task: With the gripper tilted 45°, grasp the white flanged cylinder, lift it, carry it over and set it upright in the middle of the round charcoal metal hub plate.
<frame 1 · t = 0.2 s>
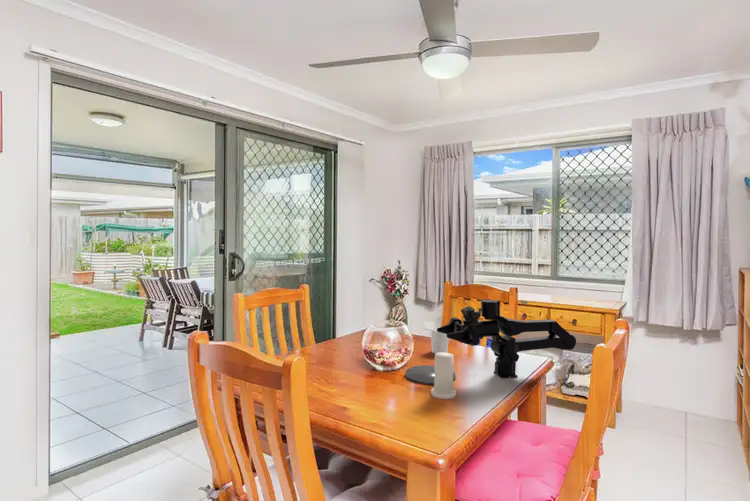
hand: (441, 332, 158), 17 cm above the table, fingers open, 9 cm apart
hub plate: (430, 376, 162), on the table
white flanged cylinder: (443, 394, 144), on the table
white cup: (439, 352, 194), on the table
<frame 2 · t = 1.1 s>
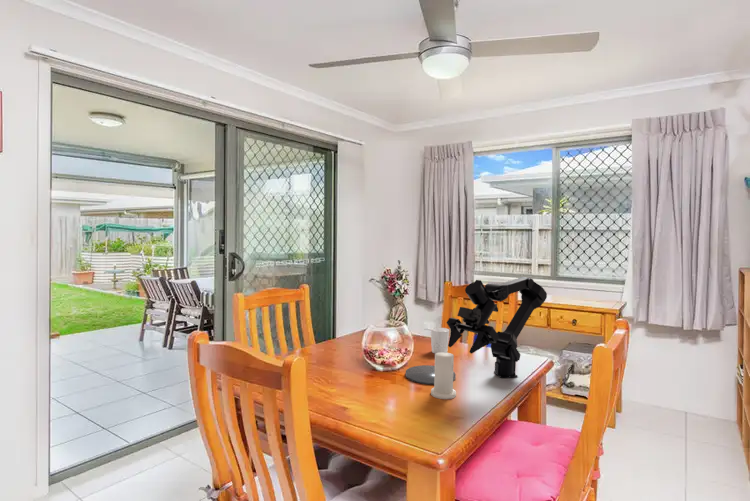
hand: (459, 349, 148), 14 cm above the table, fingers open, 9 cm apart
nothing on the table moved.
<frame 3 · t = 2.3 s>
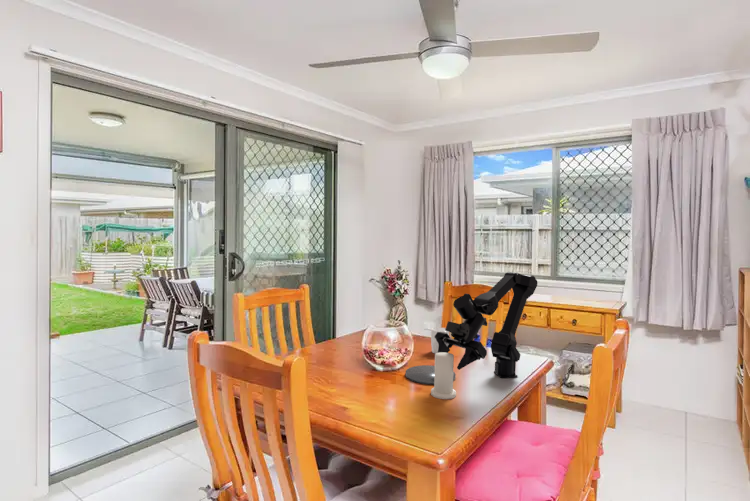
hand: (447, 365, 144), 9 cm above the table, fingers open, 9 cm apart
nothing on the table moved.
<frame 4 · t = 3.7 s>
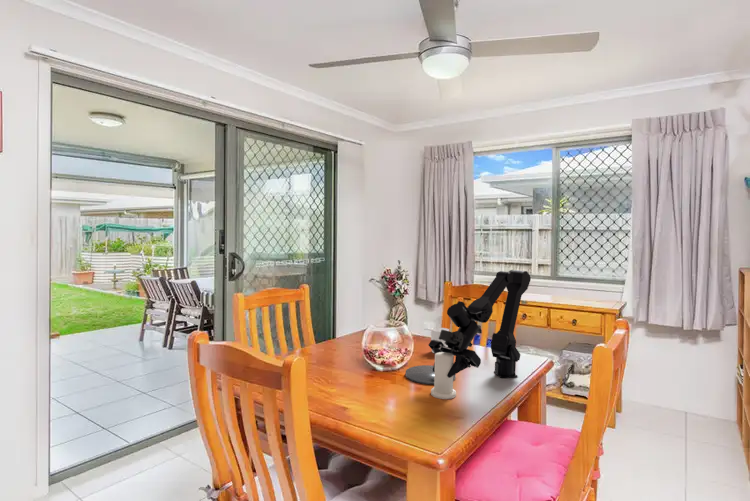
hand: (440, 374, 143), 7 cm above the table, fingers closed on white flanged cylinder, 6 cm apart
white flanged cylinder: (443, 394, 144), on the table, touching gripper
everything else where it was.
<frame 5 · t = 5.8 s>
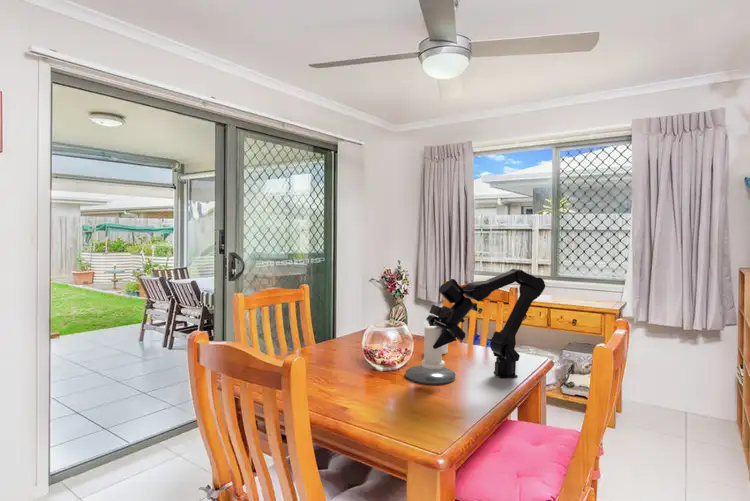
hand: (429, 345, 153), 13 cm above the table, fingers closed on white flanged cylinder, 6 cm apart
white flanged cylinder: (432, 365, 153), point 7 cm above the table, touching gripper
everything else where it was.
when the fingers open (9 cm above the table, at t = 7.8 s): white flanged cylinder drops 1 cm, resting on hub plate.
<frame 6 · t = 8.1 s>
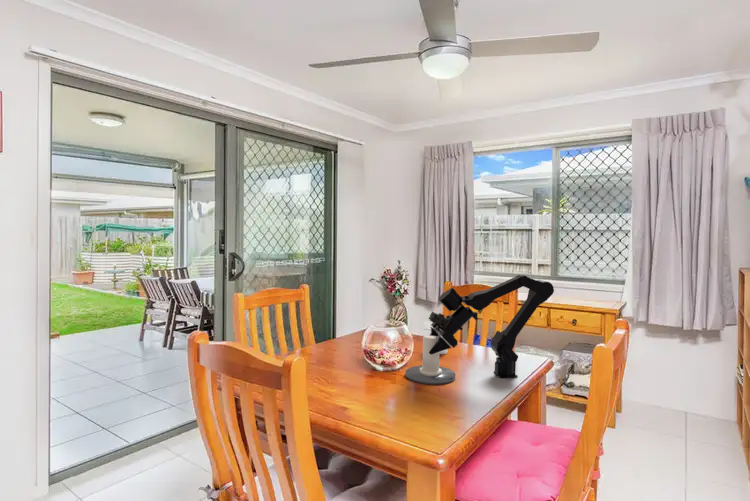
hand: (427, 350, 161), 10 cm above the table, fingers open, 9 cm apart
white flanged cylinder: (430, 372, 162), point 1 cm above the table, touching hub plate
everything else where it was.
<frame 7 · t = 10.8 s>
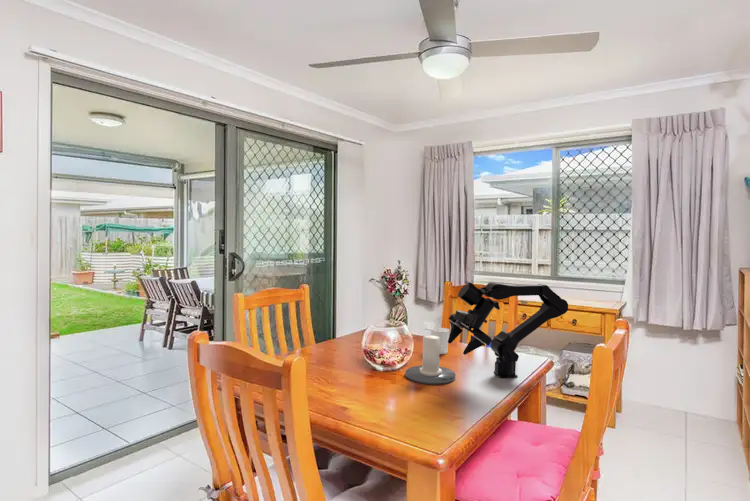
hand: (456, 348, 160), 11 cm above the table, fingers open, 9 cm apart
nothing on the table moved.
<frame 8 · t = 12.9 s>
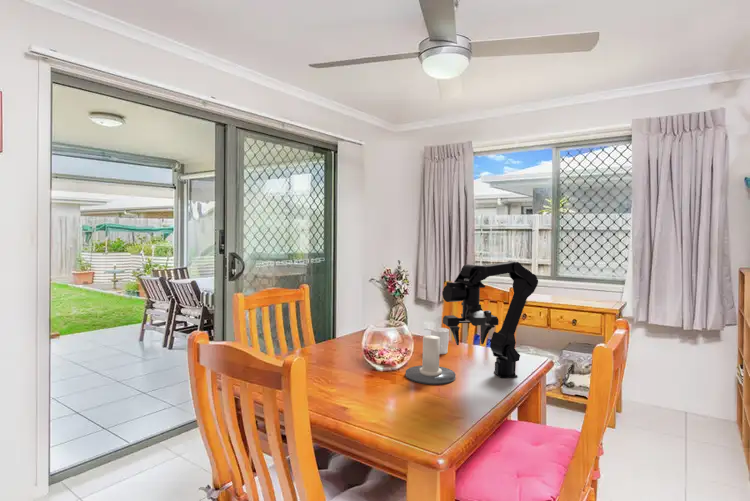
hand: (469, 344, 157), 13 cm above the table, fingers open, 9 cm apart
nothing on the table moved.
at the end: white flanged cylinder 0.1 cm off-centre on the hub plate, point 1.2 cm above the hub plate's base; white flanged cylinder tilted 0°; the gripper is holding nothing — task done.
